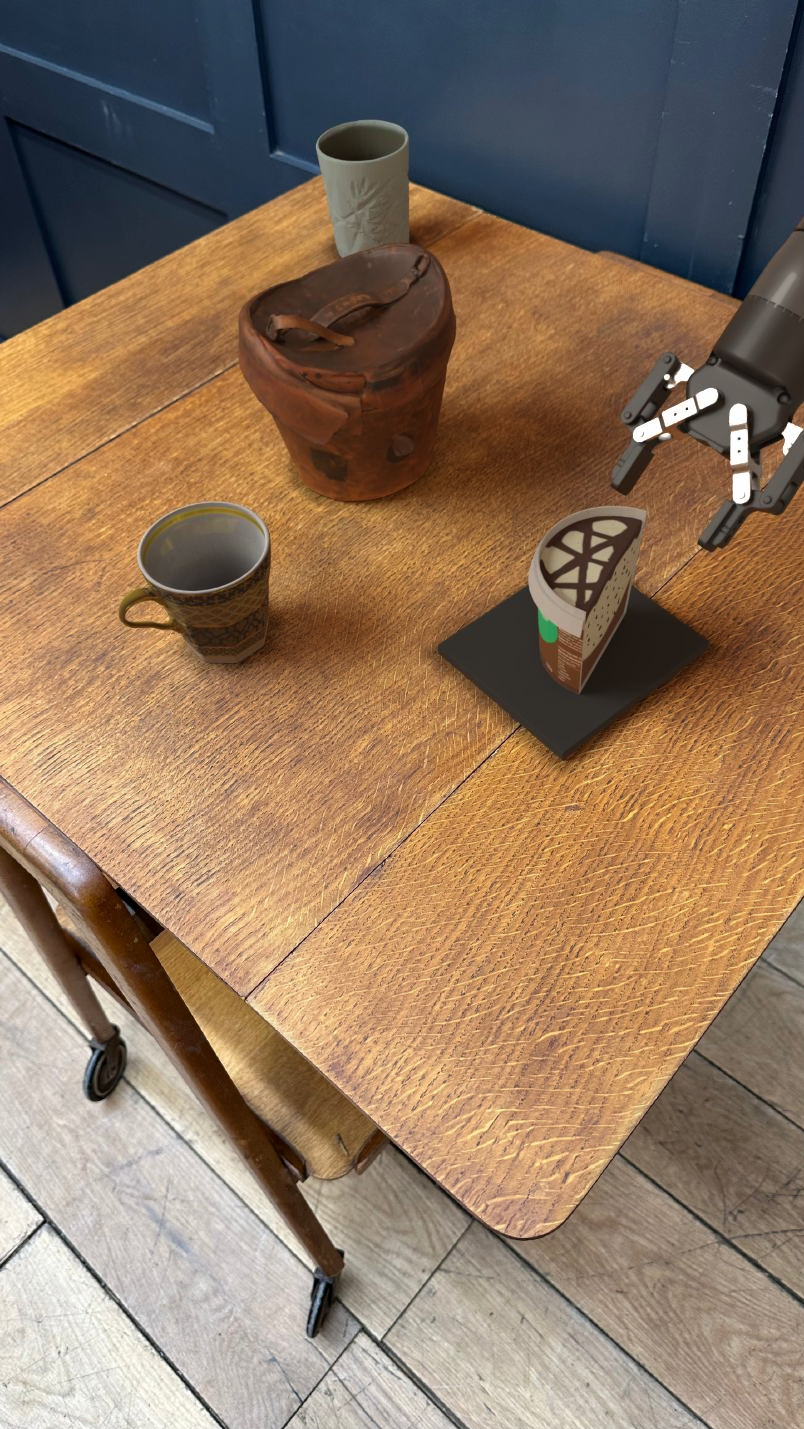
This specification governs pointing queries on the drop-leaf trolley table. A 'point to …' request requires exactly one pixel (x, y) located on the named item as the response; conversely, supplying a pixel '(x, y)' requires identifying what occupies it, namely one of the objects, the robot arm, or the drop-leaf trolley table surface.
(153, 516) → the drop-leaf trolley table surface
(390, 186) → the embossed grey tumbler
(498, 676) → the mat
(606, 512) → the food container
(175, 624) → the ceramic cup
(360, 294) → the case
